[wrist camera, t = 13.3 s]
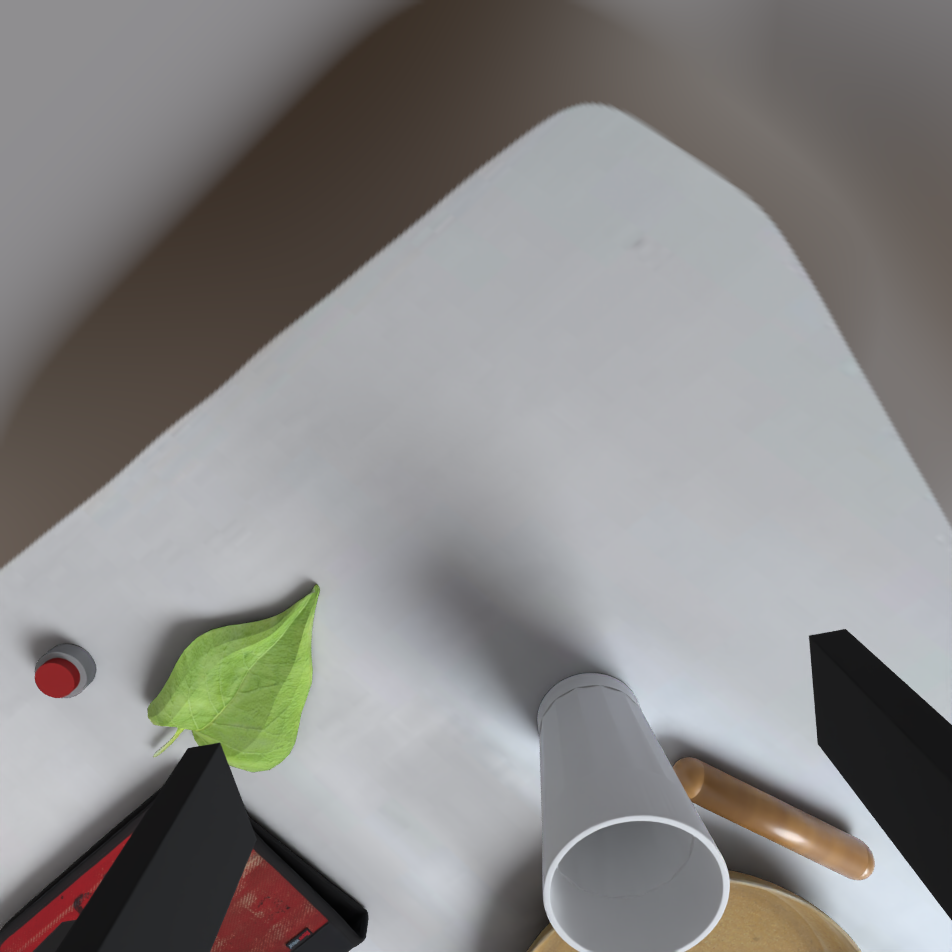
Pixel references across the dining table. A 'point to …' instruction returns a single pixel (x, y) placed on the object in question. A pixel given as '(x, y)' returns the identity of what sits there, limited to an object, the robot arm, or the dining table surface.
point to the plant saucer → (753, 924)
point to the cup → (620, 828)
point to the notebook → (249, 914)
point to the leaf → (243, 687)
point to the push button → (64, 671)
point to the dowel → (774, 819)
